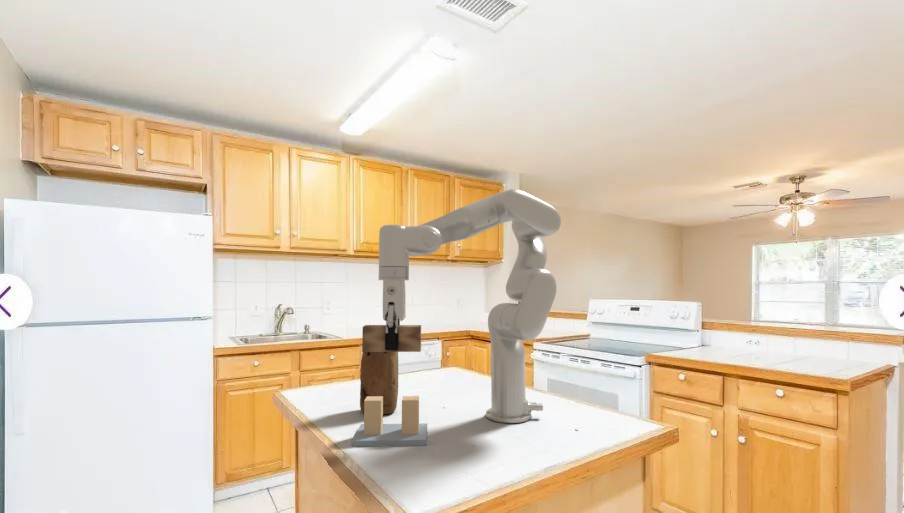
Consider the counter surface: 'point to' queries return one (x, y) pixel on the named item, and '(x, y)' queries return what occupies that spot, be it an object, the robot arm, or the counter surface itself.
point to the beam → (376, 338)
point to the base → (391, 425)
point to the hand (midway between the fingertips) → (392, 347)
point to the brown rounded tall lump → (380, 378)
